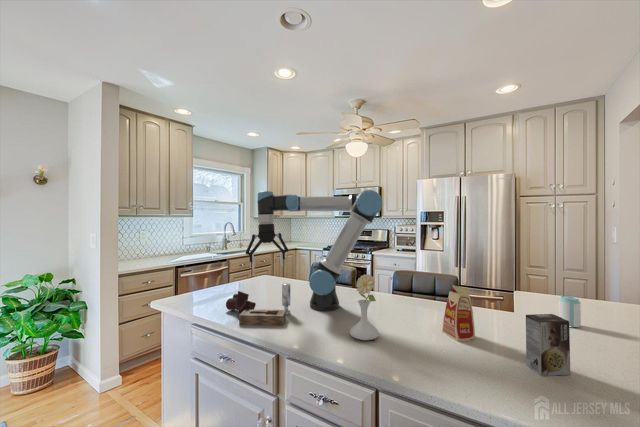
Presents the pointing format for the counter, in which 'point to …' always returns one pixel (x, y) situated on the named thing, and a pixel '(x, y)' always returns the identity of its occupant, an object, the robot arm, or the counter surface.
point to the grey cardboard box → (548, 344)
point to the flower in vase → (364, 310)
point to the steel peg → (286, 297)
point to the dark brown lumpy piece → (240, 302)
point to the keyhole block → (262, 317)
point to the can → (570, 310)
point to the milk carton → (459, 315)
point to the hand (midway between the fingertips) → (267, 267)
